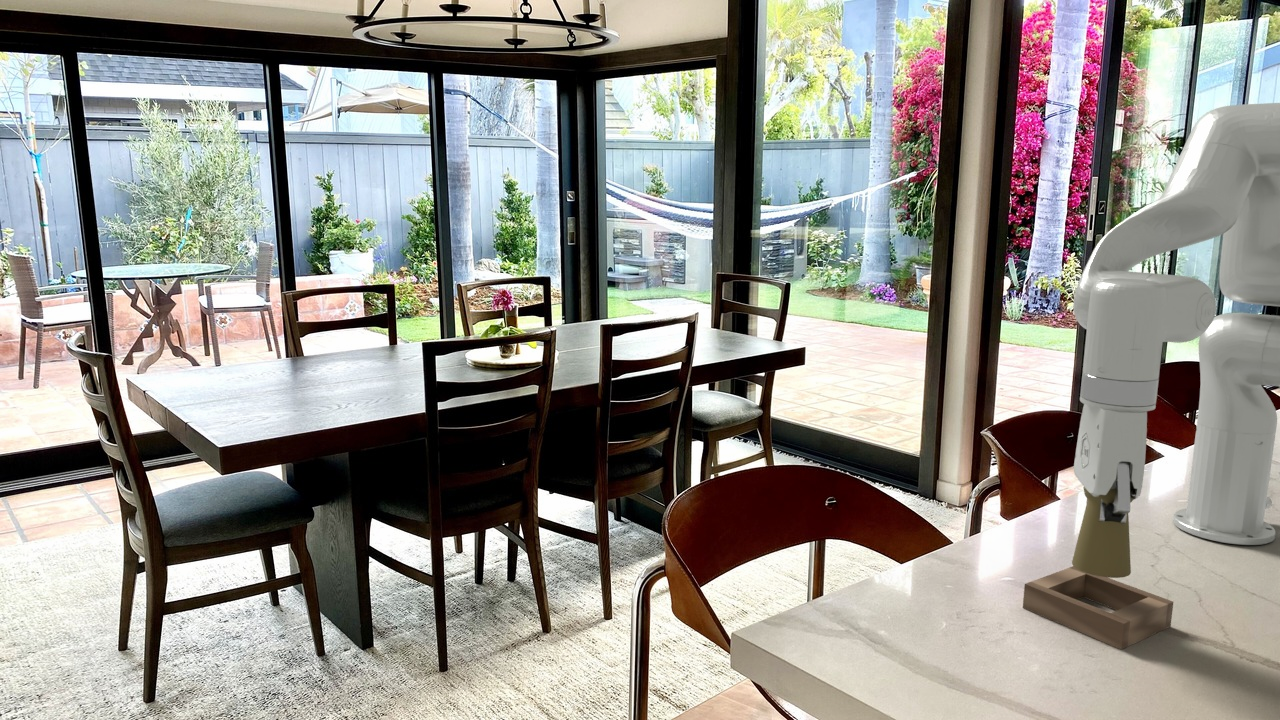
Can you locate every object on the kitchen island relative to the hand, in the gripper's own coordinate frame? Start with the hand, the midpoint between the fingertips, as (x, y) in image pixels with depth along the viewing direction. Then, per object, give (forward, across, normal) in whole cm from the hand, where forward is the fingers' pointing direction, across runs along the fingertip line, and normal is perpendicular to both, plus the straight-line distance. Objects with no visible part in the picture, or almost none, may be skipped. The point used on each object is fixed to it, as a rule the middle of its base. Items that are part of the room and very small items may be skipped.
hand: (1101, 547), depth 107 cm
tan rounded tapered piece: (+2, +1, 0) cm, 2 cm away
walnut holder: (+8, 0, 0) cm, 8 cm away
